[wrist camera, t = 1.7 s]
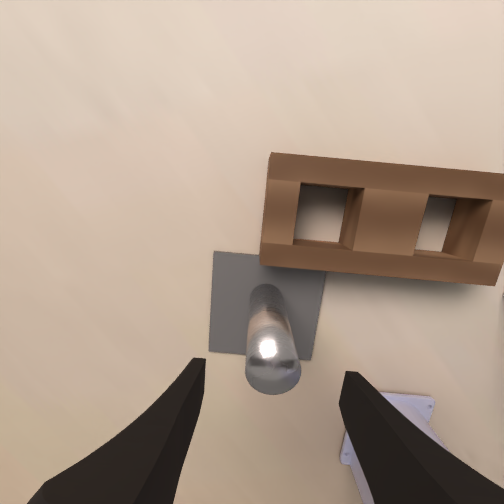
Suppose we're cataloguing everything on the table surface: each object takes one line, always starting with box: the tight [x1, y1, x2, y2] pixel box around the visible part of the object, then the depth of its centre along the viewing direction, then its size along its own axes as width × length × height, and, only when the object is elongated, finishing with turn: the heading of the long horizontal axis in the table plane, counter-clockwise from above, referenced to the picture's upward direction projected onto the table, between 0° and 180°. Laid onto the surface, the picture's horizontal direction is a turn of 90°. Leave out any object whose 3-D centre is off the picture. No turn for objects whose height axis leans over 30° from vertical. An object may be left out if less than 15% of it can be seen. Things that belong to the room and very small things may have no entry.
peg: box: [245, 284, 301, 395], centre depth 17 cm, size 3×3×9 cm
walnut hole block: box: [259, 152, 504, 286], centre depth 18 cm, size 8×18×3 cm, turn 85°
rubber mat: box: [209, 251, 326, 360], centre depth 22 cm, size 10×10×1 cm
